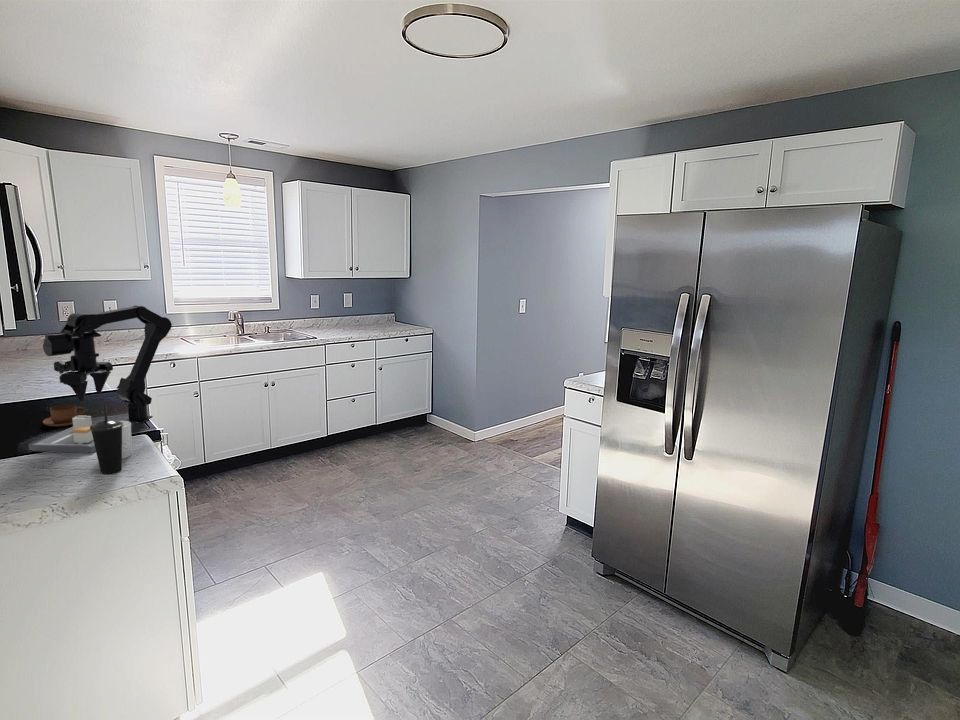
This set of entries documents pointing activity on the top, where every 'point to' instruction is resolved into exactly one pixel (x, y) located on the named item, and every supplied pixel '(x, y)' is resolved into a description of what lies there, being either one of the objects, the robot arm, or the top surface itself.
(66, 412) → the cup and saucer
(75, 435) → the orange fader
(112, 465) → the drinking cup
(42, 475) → the top surface
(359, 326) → the top surface
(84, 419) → the block
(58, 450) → the grey square board
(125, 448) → the white cup
